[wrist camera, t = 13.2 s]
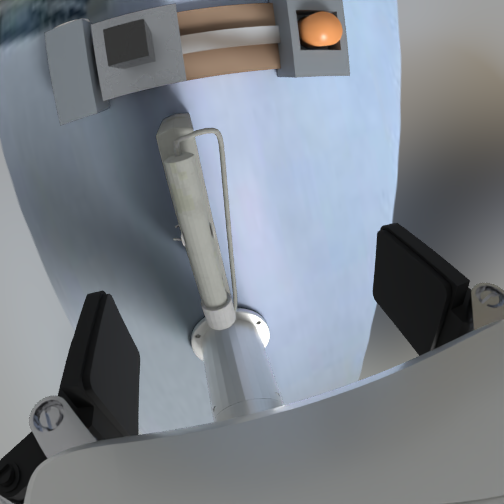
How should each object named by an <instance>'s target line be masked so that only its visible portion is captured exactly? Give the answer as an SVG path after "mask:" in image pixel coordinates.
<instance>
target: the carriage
mask: <svg viewBox="0 0 504 504" xmlns="http://www.w3.org/2000/svg"><path fill="white" fill-rule="evenodd" d="M91 30H92V37H93V44H94V51H95V58H96V64H97V70H98V76H99V82H100V87H101V92H102V98H103V101H105V100H108V99H112V98H115V97H119V96H123V95H126V94H130V93H134V92H138V91H142V90H146V89H150V88H154V87H159V86H163V85H168V84H173V83H178V82H183V81H187V79H186V73H185V66H184V59H183V53H182V46H181V39H180V32H179V25H178V17H177V10H176V4H170V5H165V6H160V7H155V8H150V9H146V10H141V11H137V12H133V13H129V14H125V15H122V16H118V17H115V18H111V19H108V20H104V21H101V22H98V23H95V24H92V25H91Z"/></svg>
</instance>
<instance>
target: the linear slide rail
mask: <svg viewBox="0 0 504 504" xmlns="http://www.w3.org/2000/svg"><path fill="white" fill-rule="evenodd" d="M268 2H269V3H273V9H274V16H275V24H276V26H279V33H280V41H281V42H280V43H278V48H279V57H280V66H281V69H277V74H278V77H312V76H350V69H349V56H348V45H347V36H346V26H345V18H344V10H343V2H342V0H268ZM321 11H324V12H329V13H331V14H333V15H335V16H336V17H337V18H338V19H339V21H340V23H341V25H342V29H343V32H342V36H341V38H340V40H339V41H338V42H337V43H335V44H333V45H328V46H321V47H314V48H308V47H305V46H303V45H301V44H300V40H299V31H298V23H297V21H298V20H300V19H302V18H304V17H307V16H309V15H312V14H314V13H317V12H321ZM91 25H92V23H90V22H89V19H83V18H80V19H77V20H72V21H69V22H66V23H63V24H61V25H59V26H57V27H55V28H54V29H52V30H49V31H47V32H45V33H44V34H45V43H46V50H47V57H48V64H49V70H50V76H51V82H52V88H53V93H54V98H55V103H56V108H57V112H58V117H59V121H60V126H61V125H64V124H67V123H69V122H72V121H75V120H78V119H81V118H84V117H87V116H90V115H94V114H97V113H99V112H101V111H104V110H106V109H108V108H110V104H109V99H108V100H105V101H103V98H102V92H101V87H100V82H99V76H98V70H97V64H96V58H95V51H94V44H93V37H92V30H91Z"/></svg>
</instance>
